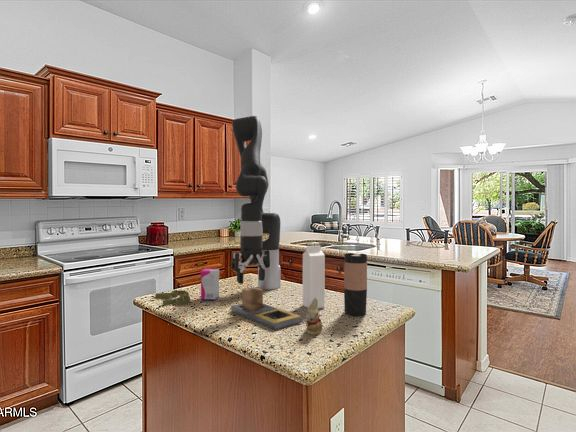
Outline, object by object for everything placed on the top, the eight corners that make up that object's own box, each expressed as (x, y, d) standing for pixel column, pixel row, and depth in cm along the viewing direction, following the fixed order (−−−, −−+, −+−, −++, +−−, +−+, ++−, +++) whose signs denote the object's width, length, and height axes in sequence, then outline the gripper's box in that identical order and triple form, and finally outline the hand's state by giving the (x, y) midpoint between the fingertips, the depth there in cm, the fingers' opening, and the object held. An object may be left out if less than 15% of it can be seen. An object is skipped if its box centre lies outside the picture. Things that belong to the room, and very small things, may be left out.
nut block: (254, 309, 124) (254, 286, 124) (262, 312, 120) (262, 289, 120) (242, 312, 121) (242, 289, 120) (250, 315, 117) (250, 291, 117)
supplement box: (219, 297, 141) (219, 268, 140) (215, 301, 135) (215, 271, 135) (205, 296, 141) (205, 268, 141) (200, 300, 135) (200, 270, 135)
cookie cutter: (153, 297, 141) (153, 292, 141) (183, 293, 148) (183, 289, 148) (164, 308, 126) (164, 302, 126) (197, 303, 132) (197, 298, 132)
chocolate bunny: (298, 332, 101) (298, 298, 101) (314, 325, 107) (314, 293, 107) (313, 337, 98) (313, 301, 97) (329, 330, 103) (329, 296, 103)
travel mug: (353, 317, 115) (353, 256, 114) (339, 311, 121) (339, 253, 121) (371, 314, 118) (372, 255, 118) (357, 308, 125) (357, 252, 124)
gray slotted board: (254, 306, 128) (254, 300, 128) (300, 322, 110) (300, 315, 110) (231, 311, 121) (231, 305, 121) (275, 330, 103) (275, 322, 103)
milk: (324, 307, 126) (325, 246, 126) (309, 309, 124) (310, 247, 123) (316, 303, 132) (317, 244, 131) (302, 305, 129) (302, 245, 129)
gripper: (261, 233, 127) (261, 277, 127) (227, 234, 118) (227, 282, 118) (274, 234, 121) (274, 281, 122) (239, 235, 112) (239, 286, 112)
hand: (251, 281), depth 120 cm, fingers open, 8 cm apart
